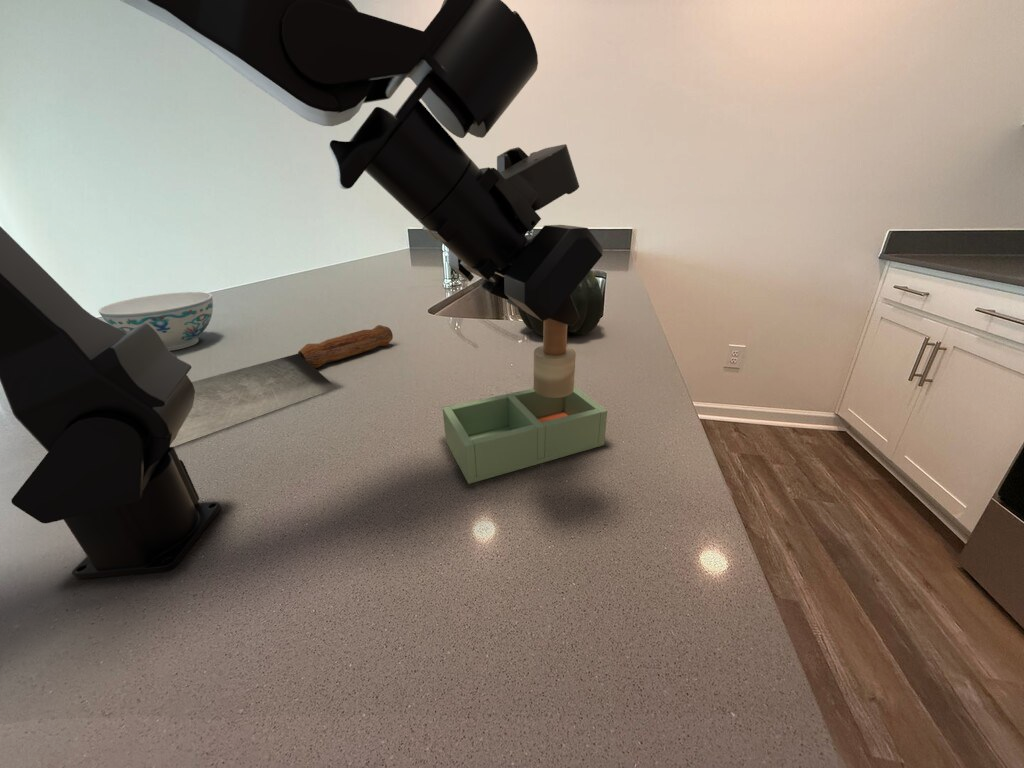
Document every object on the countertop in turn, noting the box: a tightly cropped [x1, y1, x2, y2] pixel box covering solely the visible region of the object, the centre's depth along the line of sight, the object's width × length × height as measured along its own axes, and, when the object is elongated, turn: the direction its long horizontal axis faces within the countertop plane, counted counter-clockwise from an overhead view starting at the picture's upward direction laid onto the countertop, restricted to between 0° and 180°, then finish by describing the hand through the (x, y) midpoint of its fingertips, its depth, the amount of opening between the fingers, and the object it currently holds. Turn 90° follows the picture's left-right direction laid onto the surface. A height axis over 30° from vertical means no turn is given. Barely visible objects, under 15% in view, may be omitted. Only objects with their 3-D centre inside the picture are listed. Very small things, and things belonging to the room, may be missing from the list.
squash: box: [517, 269, 604, 337], centre depth 72 cm, size 14×15×15 cm
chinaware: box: [98, 291, 214, 352], centre depth 70 cm, size 15×15×8 cm
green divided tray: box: [442, 385, 608, 485], centre depth 41 cm, size 14×8×4 cm, turn 114°
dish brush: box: [533, 319, 577, 398], centre depth 38 cm, size 4×4×13 cm
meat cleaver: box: [170, 324, 394, 448], centre depth 56 cm, size 34×11×4 cm, turn 140°
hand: (568, 318), depth 38 cm, fingers closed on dish brush, 2 cm apart
